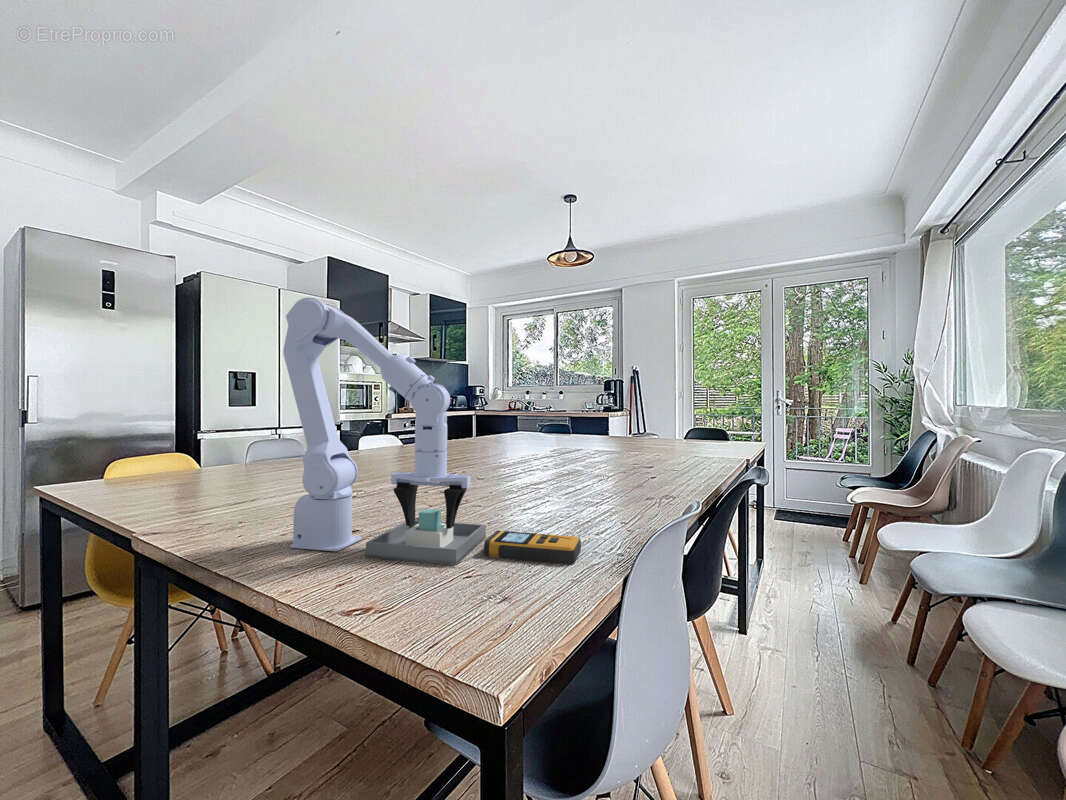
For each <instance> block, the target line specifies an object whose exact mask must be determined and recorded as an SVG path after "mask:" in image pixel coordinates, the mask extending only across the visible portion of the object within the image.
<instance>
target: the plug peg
mask: <svg viewBox="0 0 1066 800" xmlns="http://www.w3.org/2000/svg"><path fill="white" fill-rule="evenodd" d="M418 520H419V530H422V531H436V532H437V531H438V530H440V529H441V522H442V509H437V508H436V509H435V508H425V509H422V510H420V511H418Z"/></svg>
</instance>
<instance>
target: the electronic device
mask: <svg viewBox="0 0 1066 800" xmlns="http://www.w3.org/2000/svg"><path fill="white" fill-rule="evenodd" d="M581 550H582V541H581V538H580V537H576V536H572V535H571V536H569V535H559V534H558V535H557V534H547V533H546V534H545V533H532V532H523V531H521V532H520V531H510V530H509V531H508V530H507V531H506V530H505V531H504V530H496V531H495V532H494V533H492V534H491V535H490V536H489V537H488V538H487V539H486V538H485V541H484V545H483V556H484V557H489V558H500V559H507V560H517V561H528V562H538V563H549V564H559V565H560V564H561V565H574V564H576V561H577V559H578V558H579V555H580V554H581Z"/></svg>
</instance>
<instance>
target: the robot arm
mask: <svg viewBox="0 0 1066 800" xmlns="http://www.w3.org/2000/svg"><path fill="white" fill-rule="evenodd" d="M285 318H286V322H287V330H286V335H285V340H284V345H283V350H282V352H283V357H284V361H285V365H286V369H287V373H288V377H289V380H290V384H291V388H292V389H291V390H292V392H293V395H294V396H293V397H294V399H295V403H296V407H297V410H298V414H299V419H300V423H301V426H302V430H303V433H304V438H305V441H306V444H307V448H306V450H305V453H304V455H303V457H302V459H301V460H302V464H303V474H302V480H301V481H302V484H303V488H304V490H305V491H306V492H307V493H308V494H303V495H302V496H301V497H299V498H298V499H297V500H296V503H295V505H294V508H293V509H294V510H293V523H292V524H293V525H292V526H293V527H292V529H293V531H292V532H293V535H292V536H293V539H292V541H293V543H292V544H290V545H289V547H290V548H291V549H303V550H304V549H305V550H312V551H314V550H315V551H324V552H325V551H327V552H340V551H341V550H343V549H345V548H347V547H350V546H351V545H353V544H355V543H357V542H359V541H360V540H362V536H358V535H353V490H352V486H353V485H354V483H355V482H356V480H357V479H358V475H359V470H358V466H357V464H356V462H355V461H354V460H353V459H352V458H351V455H349V451H348V448H347V446H346V445H345V444H343V442H342V441H341V440H340V439H339V434H338V431H337V427H336V423H335V420H334V419H335V418H334V416H333V412H332V408H331V404H330V400H329V398H328V397H329V396H328V393H327V389H326V385H325V382H324V378H323V374H322V371H321V365H320V362H319V358H320V356H321V354H322V353H323V352H324V351H325V349H326V348H328V347H329V346H330V345H331V344H333V343H334V342H336V341H337V340H338V339H339V340H343V341H346V342H347V343H349V345H351V346H353V347H354V348H356V349H357V350H358V351H359V352H360V353H362V355H364V356H365V357H367V358H368V359H369V360H370V361H371V362H373V363H374V364H375V365H377V366H378V367H379V368H380V375H381V379H382V380H384V382H385V383H387V384H388V385H389V386H390V387H391V388H392V389H394V390H395V391H396V392H397V393H398V394H400V395H401V396H402V397H403V398H404V399H406V401H408V402H410V405H411V408H412V410H413V411H414V413H415V424H414V425H415V426H414V472H394V473H391V477H390V485H396V487H394V488H393V493H394V495H395V496H396V498H397V500H398V501H399V504H400V506H401V510H402V512H403V517H404V519H405V520H404V522H405V521H406V525H407V526H410V525H412V524H414V523H415V520H416V502H417V501H416V500H417V494H418V493H417V492H418V488H419V486H429V487H430V486H431V487H447V488H446V489H444V490H443V494H444V499H445V511H446V512H445V522H446V528H448V529H450V528H452V527H453V526H454V523H456V518H457V513H458V510H459V506H460V504H461V502H462V500H463V497H464V496H465V494H466V492H467V489H468V488H471V486H472V483H471V482H472V481H471V479H472V478H471V477H472V476H471V475H464V474H455V473H449V472H448V423H447V422H448V413H447V410H449V407H450V405H451V396H450V393H449V391H448V390H447V388H445V386H444V385H442V384H440V383H434V381H435V379H436V378H435V377H434V376H432V375H431V374H430V375H428V374H426V373H425V372H424V371H423V370H421V369H420V368H419V367H418V366H417V365H416V364H415V363H416V359H415V358H413V357H411V356H407V357H406V356H405V355H404V354H395V355H394V354H393V353H391V352H390V351H389V350H388V349H387V348H386V347H385V346H384V345H383V344H382V343H381V342H380V341H379V340H377V339H376V337H374V336H373V335H372V334H371V333H370V332H369V331H368V330H367V329H366V328H365V327H364V326H362V325H361V324H360V323H359V322H358V321H357V320H355V319H354V318H353V317H351V316H349V315H348V314H346V313H344V312H343V311H342V310H341V309H339V308H338V307H335V306H331V305H329V304H326V303H323V302H321V300H318V299H317V298H315V297H310V296H309V297H302V298H300V299H299V300H298V301H296V302H295V303H294V304H293V305H292V307H291V308H290V309H289V311H288V312H287V313H286V316H285Z"/></svg>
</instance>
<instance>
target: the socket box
mask: <svg viewBox="0 0 1066 800" xmlns="http://www.w3.org/2000/svg"><path fill="white" fill-rule="evenodd" d="M486 529H487V525H486V524H482V523H481V524H479V523H466V522H465V523H464V522H455V523H454V526H453V527H452V528H450V529H448V528H446V521H441V529H440V530H438V531H437V532H436V531H422V530H419V519H415V523H414V524H412V525H410V526H407V525H406V521H405V520H404V522H402V523H400V524H398V525H396V526H395V527H393V528H391V529H389V530H387V531H385V532H383V533H381V534H379V535H378V536H376V537H373V538H372V539H370V540H368V541H367V542H365V558H368V559H380V560H381V559H383V560H393V561H402V562H403V561H404V562H415V563H428V564H440V565H452V566H457V565H458V564H459V563H460V562H461V561H462V560H464V558H466V556H468V555H469V554H470V552H472V551H473V550H474V549H475V548H476V547H478V545H480V544H481V543H482V542H483V541H484V540H486V534H487V533H486V532H487V530H486Z"/></svg>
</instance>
